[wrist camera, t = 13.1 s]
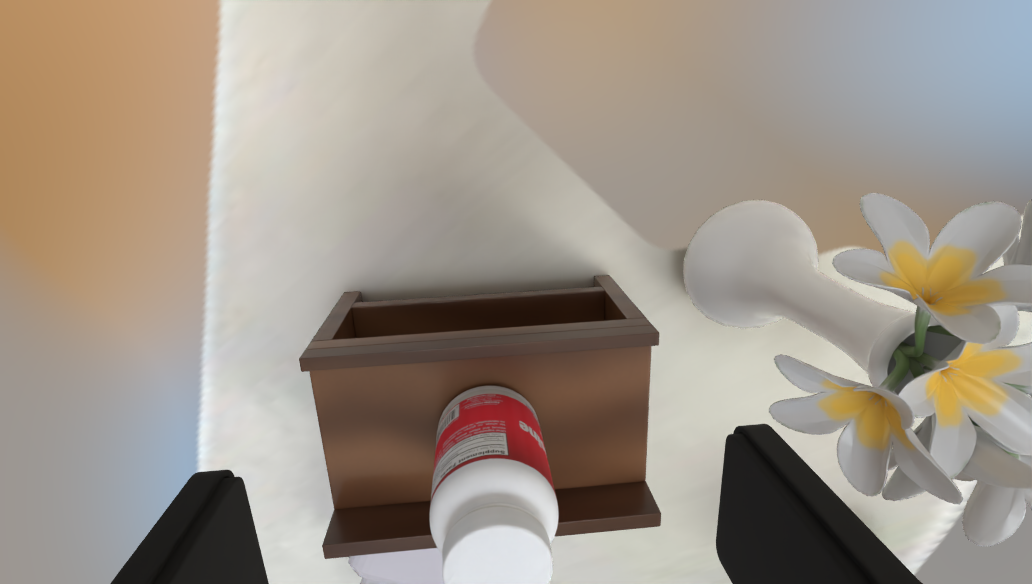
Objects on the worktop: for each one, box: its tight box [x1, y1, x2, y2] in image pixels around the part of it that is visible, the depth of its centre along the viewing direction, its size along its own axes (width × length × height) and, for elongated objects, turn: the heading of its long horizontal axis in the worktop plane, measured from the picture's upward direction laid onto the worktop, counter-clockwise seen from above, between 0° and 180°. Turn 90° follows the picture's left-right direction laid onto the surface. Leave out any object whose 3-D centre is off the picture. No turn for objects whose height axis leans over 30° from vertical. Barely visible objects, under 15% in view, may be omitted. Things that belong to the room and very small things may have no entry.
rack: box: [299, 275, 661, 559], centre depth 36 cm, size 12×20×13 cm, turn 93°
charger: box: [349, 548, 444, 584], centre depth 45 cm, size 5×9×15 cm
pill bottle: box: [429, 386, 559, 584], centre depth 28 cm, size 6×6×11 cm
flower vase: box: [683, 193, 1032, 546], centre depth 30 cm, size 13×18×25 cm
